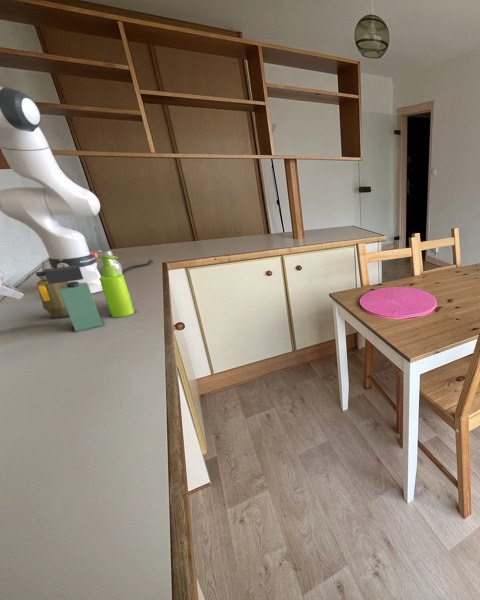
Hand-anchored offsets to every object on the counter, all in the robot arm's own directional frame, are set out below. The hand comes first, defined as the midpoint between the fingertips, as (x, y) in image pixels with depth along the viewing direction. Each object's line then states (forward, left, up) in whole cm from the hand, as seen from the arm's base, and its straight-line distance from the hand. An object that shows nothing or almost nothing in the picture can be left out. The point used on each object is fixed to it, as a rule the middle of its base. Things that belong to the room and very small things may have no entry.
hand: (22, 295), depth 85 cm
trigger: (-2, +4, -2) cm, 5 cm away
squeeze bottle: (-17, -3, -13) cm, 21 cm away
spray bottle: (-4, +7, -12) cm, 15 cm away
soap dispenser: (-13, +15, -13) cm, 23 cm away
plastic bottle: (-21, +11, -13) cm, 27 cm away
